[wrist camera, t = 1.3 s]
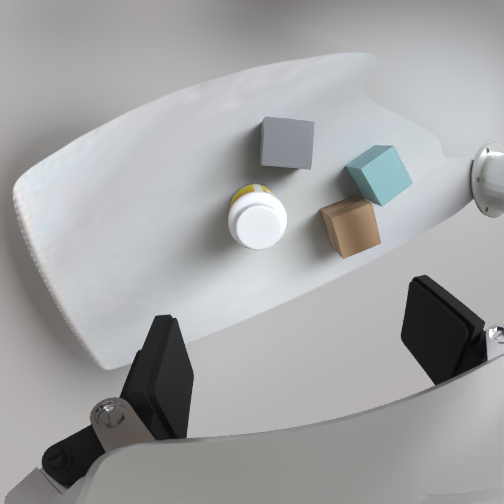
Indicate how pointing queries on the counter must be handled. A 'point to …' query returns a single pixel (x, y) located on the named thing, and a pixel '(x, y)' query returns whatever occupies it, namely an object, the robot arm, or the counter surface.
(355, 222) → the walnut block
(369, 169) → the teal block
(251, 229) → the supplement bottle
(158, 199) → the counter surface
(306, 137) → the gray block
